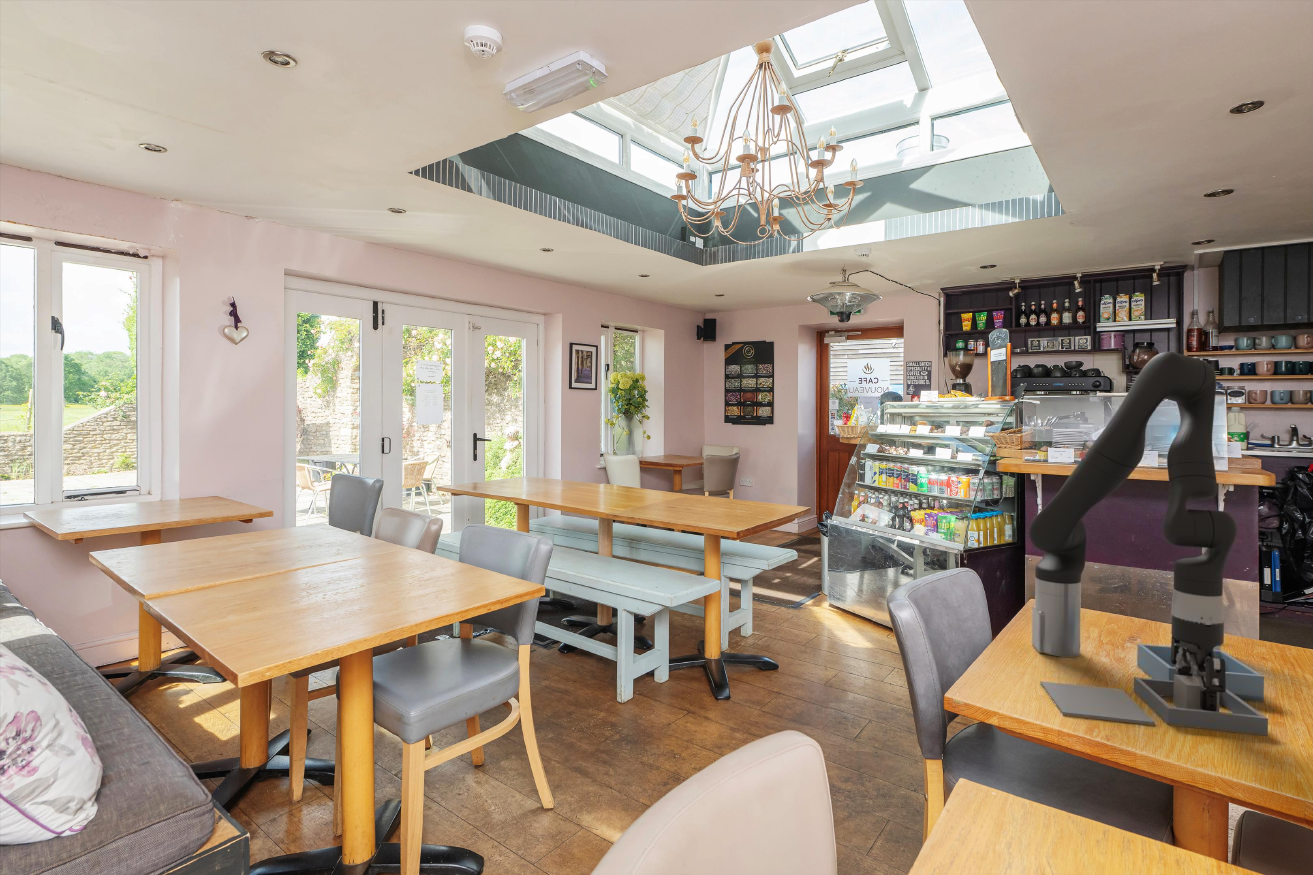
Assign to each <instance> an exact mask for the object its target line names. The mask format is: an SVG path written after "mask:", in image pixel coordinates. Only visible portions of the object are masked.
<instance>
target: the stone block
mask: <svg viewBox="0 0 1313 875" xmlns="http://www.w3.org/2000/svg"><path fill="white" fill-rule="evenodd" d="M1204 679H1205V678H1204ZM1205 683H1206V679H1205ZM1200 689H1201V687H1200V684H1199V680H1198V679H1197V678H1196V677H1195V676H1185V675H1174V695H1173V697H1172V698H1173V699H1172V700H1173V702H1172V703H1173V707H1177V708H1186V709H1196V710H1202V709H1201V708H1200ZM1216 712H1220V702H1219V692H1217V711H1216Z"/></svg>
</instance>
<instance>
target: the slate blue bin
mask: <svg viewBox="0 0 1313 875" xmlns="http://www.w3.org/2000/svg"><path fill="white" fill-rule="evenodd" d="M1136 654H1137V655H1136V659H1137V660H1136V666H1137V667H1138V668H1139V669H1140V670H1142V672H1144V674H1146V675H1147V676H1148V677H1150V679H1160V680H1171V681H1174V675H1177V671H1176V669H1175V664H1172V663H1171V646H1169V645H1161V644H1160V645H1157V644H1147V643H1137V652H1136ZM1177 655H1178V654H1177ZM1214 655H1215V658H1221V659H1224V660H1225V677H1226V689H1227V690H1229V691H1230V692H1231V693H1233V694H1234V695H1236V696H1237V697H1238V698H1240V699H1241V700H1243V701H1252V702H1260V703H1261V702H1262V703H1264V702H1265V700H1264V699H1265V693H1264V692H1265V676H1264V675H1262V674H1261V673H1259V672H1257V671H1256V670H1254V669H1252V668H1251V667H1249V665H1246V664H1244V663H1243V662H1242V661H1240V660H1238V659H1237V658H1235V657H1233V656H1232V655H1230V654H1228V653H1227V652H1225V651H1224V650H1222V649H1220V650H1214ZM1190 673H1192V674H1193V672H1190ZM1193 676H1194V674H1193ZM1217 681H1218V684H1219V679H1217Z"/></svg>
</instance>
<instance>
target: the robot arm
mask: <svg viewBox="0 0 1313 875" xmlns="http://www.w3.org/2000/svg"><path fill="white" fill-rule="evenodd" d="M1216 392H1217V376H1216V372H1215V369H1214V368H1213V366H1212V365H1211V364H1209V362H1206V361H1204V360H1201V359H1199V358H1196V357H1193V356H1192V357H1191V356H1190V355H1189V356H1188V355H1185V354H1182V353H1178V352H1173V351H1164V352H1162V351H1161V353H1158V354H1156V355H1155V356H1153V357H1152V358H1150V360H1149V361H1148V362H1147V363H1146V364H1145V365H1144V366H1143V367H1142V369H1141V370H1140V372H1139V374H1138V375H1137V376H1136V378H1135V380H1134V382H1133V384H1132V385H1131V387H1130V388H1129V391H1128V392H1127V394H1126V395H1125V397H1124V398H1123V400H1122V402H1121V403H1120V406H1119V407H1118V409H1117V410H1116V411H1115V413H1114V415H1113V416H1112V417H1111V419H1110V420H1109V422H1108V423H1107V424H1106V426H1105V427H1104V429H1103V430H1102V432H1101V433H1100V434H1099V436H1098V437H1097V438H1096V439H1095V440H1094V442H1093V443H1092V444H1091V446H1089V448H1088V450H1087V451H1086V452H1085V454H1084V455H1083V456H1082V458H1081V460H1080V461H1079V462H1078V464H1077V466H1076V467H1075V468H1074V469H1073V471H1072V472H1071V474H1069V476H1068V478H1067V479H1066V481H1065V482H1064V483H1063V485H1062V487H1061V488H1060V489H1059V490H1058V492H1057V493H1056V494H1055V496H1054V497H1053V498H1051V500H1050V501H1049V502H1048V503H1047V504H1046V505H1045V506H1044V507H1043V508H1042V509H1041V510H1040V511H1039V513H1038V514H1036V516H1034V518H1033V519H1032V521H1031V523H1030V525H1029V529H1028V537H1029V540H1030V542H1031V543H1032V544H1031V545H1033V547H1035V548H1036V549H1037V550H1039V551H1042V552H1043V556H1042V558H1041V560H1040V561H1039V562H1038V563H1037V564H1036V565H1035V571H1034V573H1035V575H1034V576H1035V578H1034V579H1035V581H1034V583H1035V585H1034V587H1035V588H1034V590H1035V592H1034V596H1035V597H1034V605H1032V613H1031V617H1032V621H1031V622H1032V624H1031V626H1032V627H1031V628H1032V629H1031V633H1032V634H1031V643H1032V646H1033V647H1034V648H1035V650H1036V651H1037V652H1038V653H1040V654H1046V655H1050V656H1056V657H1063V658H1073V657H1079V656H1081V613H1082V612H1081V611H1082V609H1081V605H1082V602H1081V597H1082V595H1081V594H1082V575H1083V574H1082V573H1083V571H1084V570H1085V565H1086V557H1087V556H1086V554H1087V529H1086V527H1085V523H1084V521H1083V520H1082V519H1083V518H1084V517H1085V516H1086V514H1087V513H1088V512H1090V510H1091V509H1092V508H1094V507H1095V506H1096V505H1098V504H1099V503H1100V502H1102V501H1103V500H1104V499H1106V498H1107V497H1108V496H1110V495H1111V494H1112V493H1113V492H1115V491H1116V490H1117V489H1119V488H1120V486H1122V484H1123V483H1124V482H1126V480H1127V479H1128V478H1129V477H1130V475H1131V474H1132V473H1133V472H1134V471H1135V469H1136V468H1137V466H1139V464H1140V463H1141V462H1142V459H1143V457H1144V453H1145V447H1146V430H1147V426H1148V422H1149V420H1150V418H1151V417H1152V416H1153V414H1154V413H1155V412H1156V410H1157V408H1158V407H1159V406H1160V404H1161V403H1162V402H1163V401H1164V400H1168V401H1171V402H1175V403H1176V405H1177V408H1178V411H1179V416H1180V418H1179V419H1180V423H1179V427H1178V431H1177V433H1176V435H1175V437H1174V439H1173V441H1172V442H1171V444H1170V446H1169V448H1168V451H1167V455H1166V466H1167V474H1168V484H1169V485H1168V486H1169V494H1168V495H1169V496H1168V502H1167V508H1166V511H1165V514H1164V517H1163V521H1162V528H1161V529H1162V535H1163V536H1164V538H1165V539H1166V541H1167V542H1168V543H1170V544H1171V545H1174V546H1175V547H1185V548H1186V547H1188V548H1200V549H1201V548H1207V550H1206V551H1205V552H1204V554H1201V555H1199V556H1194V557H1187V558H1180V559H1178V560H1176V561H1175V562H1174V565H1173V591H1172V592H1173V593H1172V598H1171V628H1170V629H1171V630H1170V632H1171V633H1170V634H1171V641H1170V644H1171V663H1172V664H1175V669H1176V671H1177V675H1185V676H1193V674H1194V676H1195V677H1196V678H1197V679H1198V680H1199V684H1200V687H1201V689H1200V708H1201V709H1202V710H1206V711H1215V712H1216V711H1217V692H1222V693H1225V692H1226V677H1225V660H1224V659H1221V658H1215V655H1214V650H1213V648H1214V647H1216V646H1220V645H1221V646H1223V644H1224V641H1225V640H1224V639H1225V605H1224V596H1223V594H1224V593H1223V589H1224V587H1223V585H1224V582H1223V581H1224V572H1225V568H1226V567H1225V566H1226V563H1227V561H1228V557H1229V554H1230V553H1231V549H1233V546H1234V543H1235V540H1236V537H1237V534H1238V527H1237V523H1236V521H1235V519H1234V517H1232V516H1231V514H1230V513H1228V512H1226V511H1223V510H1216V509H1215V510H1214V509H1211V510H1209V509H1192V508H1191V509H1188V508H1187V504H1189V503H1192V502H1198V501H1205V500H1210V499H1212V498H1214V497H1216V495H1217V493H1218V483H1217V474H1216V468H1215V460H1214V453H1213V433H1214V432H1213V428H1214V420H1215V403H1216V402H1215V401H1216ZM1177 654H1178V655H1177ZM1190 672H1193V674H1192V673H1190ZM1204 678H1205V679H1206V683H1205V679H1204ZM1217 679H1219V684H1218V681H1217Z"/></svg>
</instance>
